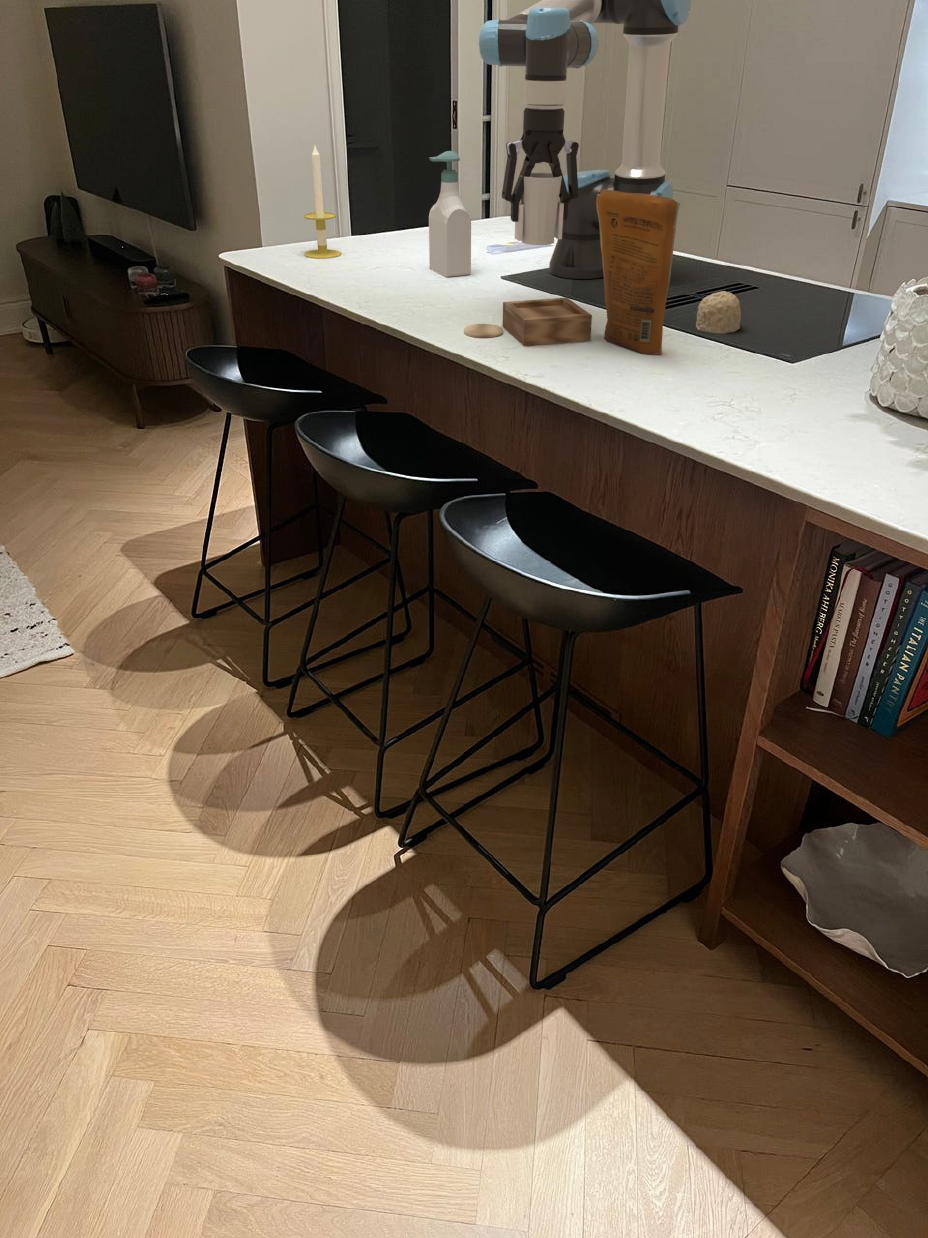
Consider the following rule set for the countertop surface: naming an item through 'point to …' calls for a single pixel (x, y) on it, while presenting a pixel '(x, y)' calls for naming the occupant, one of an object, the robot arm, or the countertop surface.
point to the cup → (540, 208)
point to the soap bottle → (449, 225)
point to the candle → (319, 214)
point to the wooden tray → (546, 321)
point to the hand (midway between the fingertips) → (538, 238)
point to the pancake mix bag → (636, 266)
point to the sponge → (719, 313)
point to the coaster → (483, 330)
